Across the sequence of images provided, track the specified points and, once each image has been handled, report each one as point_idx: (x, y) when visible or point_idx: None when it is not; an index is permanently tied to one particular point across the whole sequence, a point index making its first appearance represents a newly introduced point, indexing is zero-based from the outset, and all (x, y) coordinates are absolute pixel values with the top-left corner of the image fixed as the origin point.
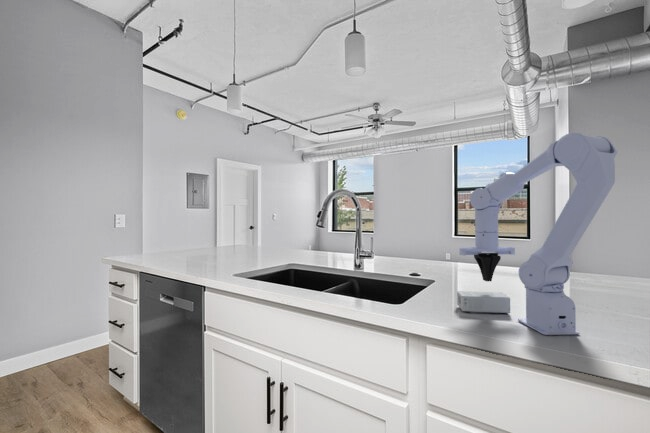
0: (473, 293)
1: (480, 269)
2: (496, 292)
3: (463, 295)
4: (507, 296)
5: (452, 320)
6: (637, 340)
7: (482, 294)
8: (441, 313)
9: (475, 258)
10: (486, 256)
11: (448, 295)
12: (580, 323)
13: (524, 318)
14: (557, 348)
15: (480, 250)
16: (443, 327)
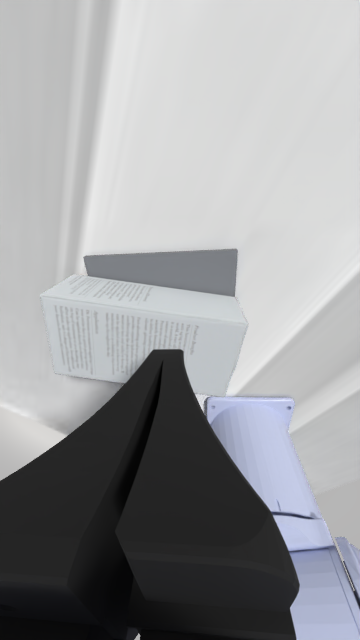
0: (105, 343)
1: (118, 394)
2: (219, 328)
3: (59, 367)
4: (225, 386)
5: (49, 384)
6: (356, 474)
7: (139, 357)
8: (21, 337)
9: (4, 500)
10: (104, 630)
11: (56, 8)
12: (352, 413)
13: (227, 400)
14: None
15: None
16: (28, 416)
